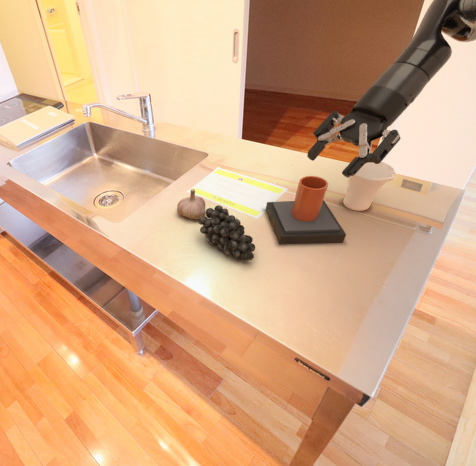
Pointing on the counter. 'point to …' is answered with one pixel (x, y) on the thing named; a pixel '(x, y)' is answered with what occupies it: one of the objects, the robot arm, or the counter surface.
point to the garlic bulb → (192, 206)
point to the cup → (367, 185)
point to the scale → (303, 225)
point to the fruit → (227, 233)
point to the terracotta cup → (309, 198)
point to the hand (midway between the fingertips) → (326, 166)
